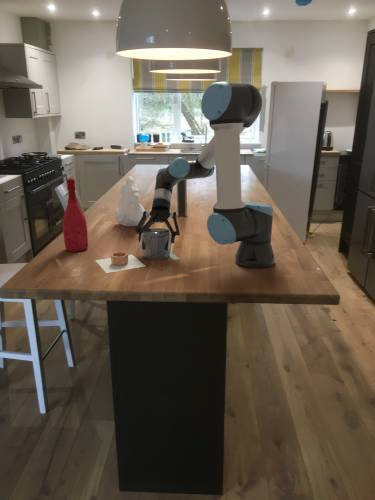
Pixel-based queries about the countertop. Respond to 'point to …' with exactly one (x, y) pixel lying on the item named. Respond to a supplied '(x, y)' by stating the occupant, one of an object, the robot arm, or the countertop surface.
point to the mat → (173, 256)
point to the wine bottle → (74, 222)
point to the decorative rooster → (129, 204)
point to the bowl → (119, 258)
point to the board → (110, 267)
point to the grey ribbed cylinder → (156, 243)
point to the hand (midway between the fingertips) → (155, 249)
